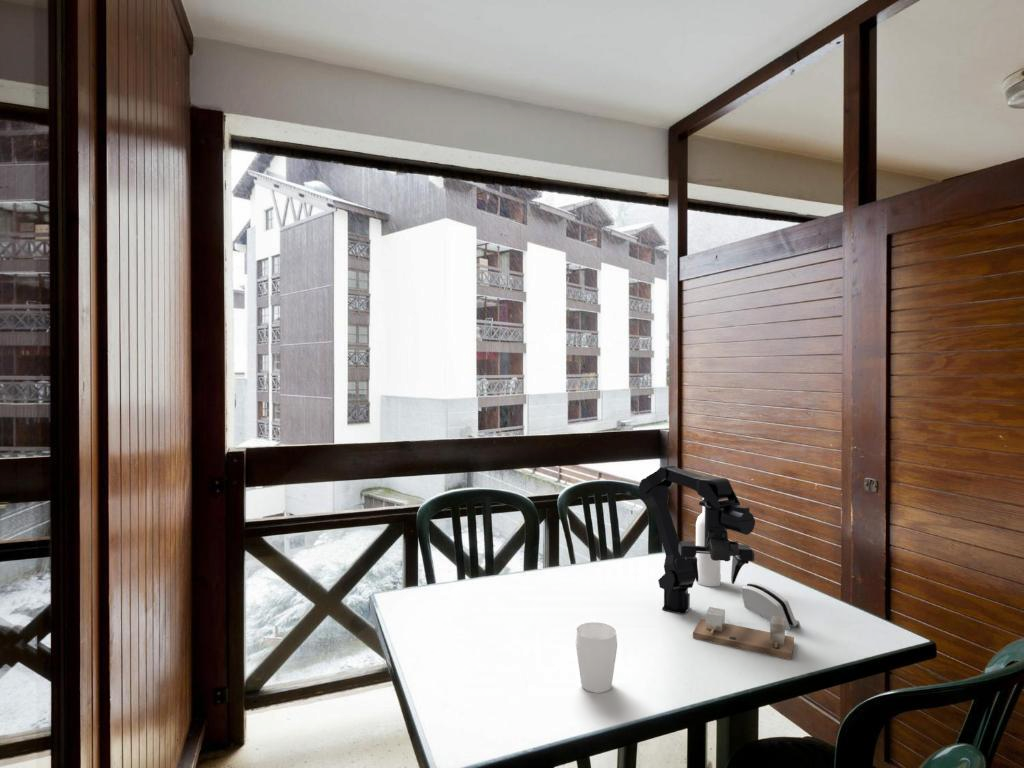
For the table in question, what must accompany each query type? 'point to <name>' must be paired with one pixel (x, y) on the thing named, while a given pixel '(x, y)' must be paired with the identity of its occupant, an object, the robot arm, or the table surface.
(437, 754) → the table surface
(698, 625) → the hole board
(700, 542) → the bottle
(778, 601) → the light grey curved piece
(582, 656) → the cup
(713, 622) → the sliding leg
